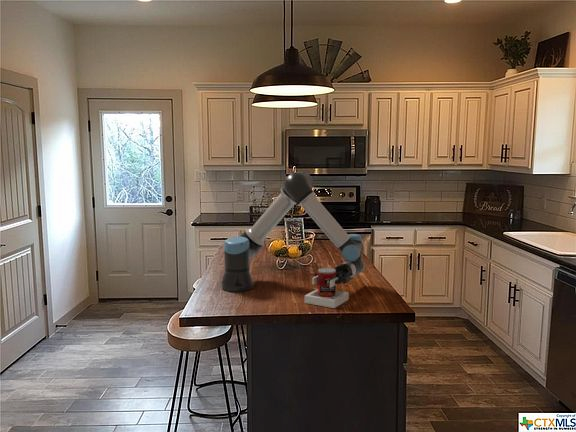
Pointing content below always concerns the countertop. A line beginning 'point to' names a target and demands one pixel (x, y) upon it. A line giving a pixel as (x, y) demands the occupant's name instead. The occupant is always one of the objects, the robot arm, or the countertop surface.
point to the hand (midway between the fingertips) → (321, 282)
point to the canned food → (326, 282)
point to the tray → (327, 299)
